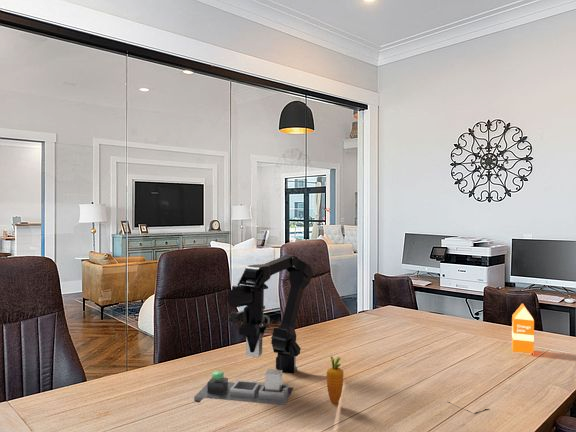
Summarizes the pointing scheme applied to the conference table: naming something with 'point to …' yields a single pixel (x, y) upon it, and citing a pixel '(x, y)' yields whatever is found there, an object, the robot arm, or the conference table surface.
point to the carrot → (335, 381)
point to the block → (273, 380)
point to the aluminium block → (257, 350)
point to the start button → (217, 375)
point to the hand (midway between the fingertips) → (254, 350)
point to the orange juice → (522, 331)
